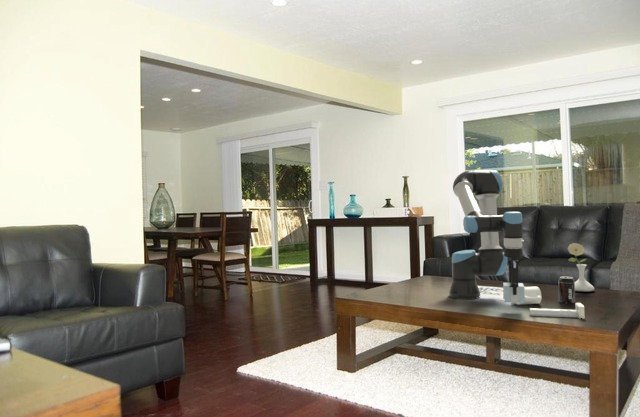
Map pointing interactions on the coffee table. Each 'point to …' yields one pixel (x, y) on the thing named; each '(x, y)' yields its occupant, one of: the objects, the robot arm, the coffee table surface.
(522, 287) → the block
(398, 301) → the coffee table surface
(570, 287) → the beverage can
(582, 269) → the flower in vase
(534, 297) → the mug
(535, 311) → the rail
